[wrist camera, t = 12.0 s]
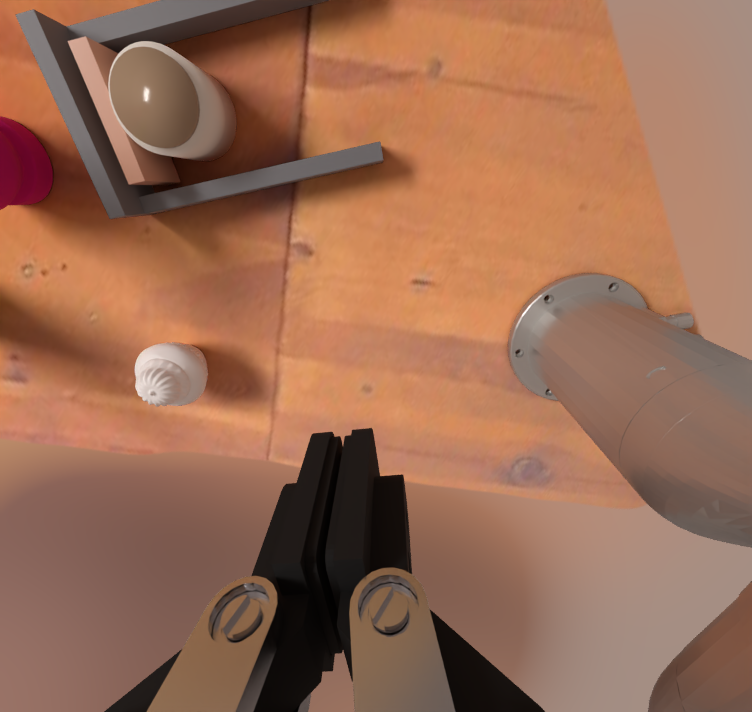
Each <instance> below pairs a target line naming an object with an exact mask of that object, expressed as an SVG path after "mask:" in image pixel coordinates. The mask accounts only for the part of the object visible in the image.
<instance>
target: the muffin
mask: <svg viewBox="0 0 752 712" xmlns="http://www.w3.org/2000/svg"><path fill="white" fill-rule="evenodd" d="M135 376H136V385H135V388H136V390H137V391H138V395H139V396H140V397H142V399H143V401H148V403H149V404H150V405H151V404H155V405H156V406H160V405H162V406H167V405H173V406H182V405H186V404H189V403H192V402H194V401H195V400H197V399H198V398H199V397H200V396H201V395H202V394H203V392H204V390H205V387H206V382H207V380H208V379H207V376H208V369H207V363H206V359H205V356H204V354H203V353H202V351H200V350H199V349H197V347H194V346H191V345H189V344H182V343H175V342H172V343H168V342H167V343H161V344H156V345H153V346H151V347H149V348H147V349H145V350H144V351H142V352H141V353H140V355H139V356H138V358H137V360H136V363H135Z"/></svg>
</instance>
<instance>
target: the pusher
mask: <svg viewBox="0 0 752 712" xmlns="http://www.w3.org/2000/svg"><path fill="white" fill-rule="evenodd" d="M68 43H69V46H70V48H71V50H72V53H73V55H74V57H75V60H76V62H77V64H78V67H79V69H80V72H81V74H82V76H83V79H84V81H85V83H86V86H87V88H88V90H89V93H90V95H91V97H92V100H93V102H94V104H95V107H96V109H97V111H98V114H99V116H100V118H101V121H102V123H103V125H104V128H105V130H106V132H107V135H108V137H109V139H110V142H111V144H112V146H113V149H114V151H115V153H116V156H117V158H118V160H119V163H120V165H121V167H122V170H123V172H124V174H125V177H126V179H127V181H128V184H129V185H166V186H167V185H171V184H176V183H180V179H179V176H178V174H177V171H176V168H175V166H174V163H173V160H172V158H171V156H166V155H160V154H156V153H153V152H151V151H148V150H147V149H145V148H143V147H141V146H140V145H139V144H137V143H136V142H135V141H134V140H133V139H132V138H131V137H130V136H129V135H128V134H127V133H126V132H125V130H124V129H123V128H122V126H121V125H120V123H119V121H118V120H117V118H116V116H115V114H114V111H113V108H112V105H111V101H110V97H109V88H108V82H109V74H110V69H111V66H112V64H113V62H114V60H115V58H116V56H117V55H118V53H117V52H115V51H113V50H111V49H109V48H107V47H105V46H103V45H101V44H99V43H98V42H96V41H94V40H92V39H90V38H88V37H86V36H85V37H81V38H78V39H74V40H70V41H68Z"/></svg>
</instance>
